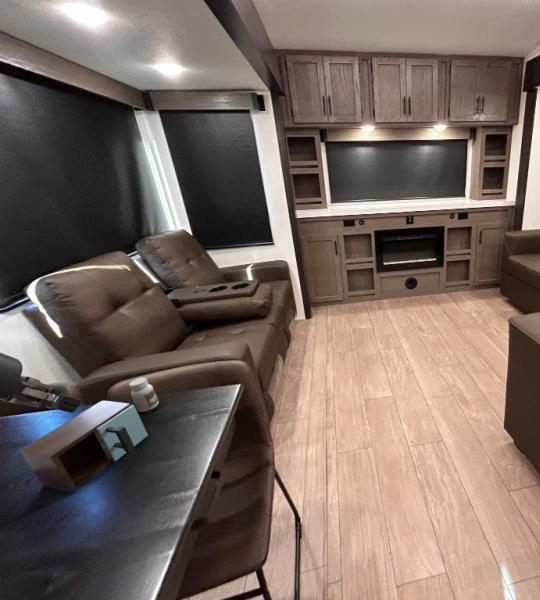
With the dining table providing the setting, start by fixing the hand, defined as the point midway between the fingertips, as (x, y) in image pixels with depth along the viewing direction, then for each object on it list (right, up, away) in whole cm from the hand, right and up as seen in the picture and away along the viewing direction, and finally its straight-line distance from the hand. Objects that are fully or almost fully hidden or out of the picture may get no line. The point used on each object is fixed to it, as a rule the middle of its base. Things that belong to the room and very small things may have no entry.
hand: (74, 406), depth 58 cm
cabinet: (-4, -14, +9) cm, 17 cm away
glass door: (+4, -12, +10) cm, 16 cm away
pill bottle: (-5, -8, +24) cm, 26 cm away
